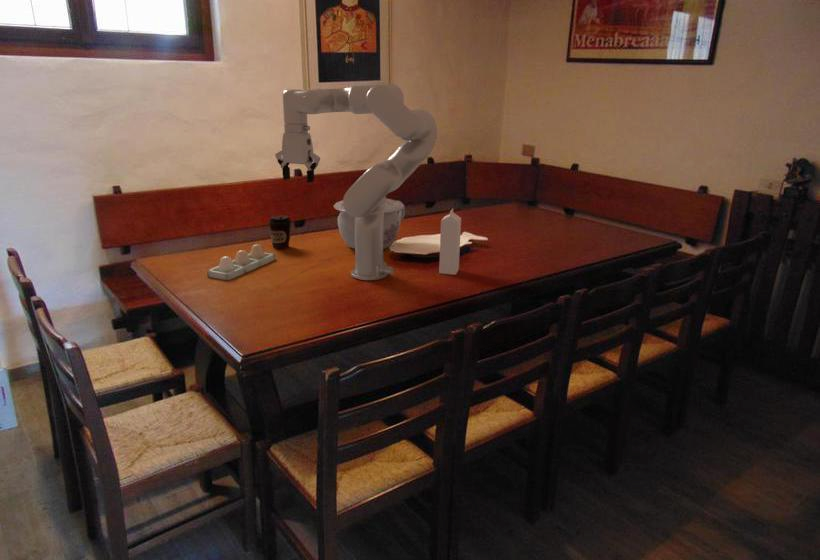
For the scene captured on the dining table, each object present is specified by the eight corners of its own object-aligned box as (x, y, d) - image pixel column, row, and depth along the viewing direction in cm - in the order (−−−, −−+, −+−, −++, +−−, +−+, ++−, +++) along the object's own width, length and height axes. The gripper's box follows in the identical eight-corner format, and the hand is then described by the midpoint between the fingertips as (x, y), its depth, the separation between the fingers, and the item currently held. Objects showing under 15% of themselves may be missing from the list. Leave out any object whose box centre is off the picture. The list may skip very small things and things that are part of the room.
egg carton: (237, 255, 219) (237, 247, 218) (275, 262, 212) (274, 254, 211) (188, 275, 198) (187, 266, 197) (228, 283, 191) (227, 274, 190)
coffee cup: (287, 253, 222) (285, 220, 218) (266, 252, 224) (264, 218, 219) (295, 247, 230) (294, 215, 226) (276, 245, 232) (274, 213, 227)
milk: (438, 273, 204) (440, 211, 196) (442, 268, 209) (444, 207, 202) (456, 275, 203) (458, 212, 195) (459, 269, 208) (461, 208, 201)
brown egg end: (267, 260, 211) (266, 243, 209) (258, 264, 207) (257, 247, 205) (256, 258, 213) (255, 241, 211) (247, 262, 209) (246, 245, 207)
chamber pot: (331, 256, 220) (329, 202, 213) (337, 236, 246) (336, 187, 238) (406, 257, 221) (407, 203, 214) (404, 237, 247) (405, 188, 240)
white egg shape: (237, 273, 197) (236, 255, 195) (227, 277, 193) (225, 259, 191) (226, 271, 199) (225, 253, 197) (216, 274, 195) (214, 257, 193)
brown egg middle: (252, 266, 204) (251, 249, 202) (243, 270, 200) (242, 253, 198) (242, 264, 206) (240, 247, 204) (232, 268, 202) (231, 251, 200)
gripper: (324, 129, 193) (326, 181, 199) (281, 126, 200) (284, 176, 206) (311, 131, 187) (313, 184, 193) (267, 128, 194) (270, 180, 199)
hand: (298, 180), depth 199 cm, fingers open, 9 cm apart
